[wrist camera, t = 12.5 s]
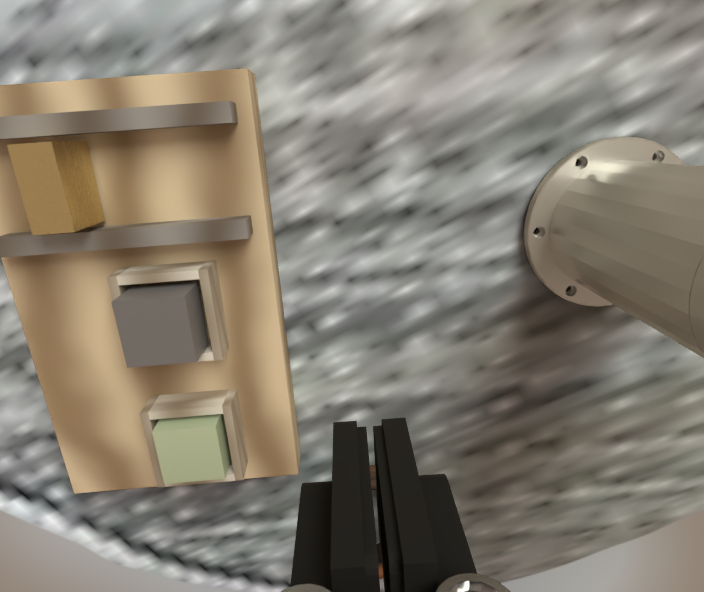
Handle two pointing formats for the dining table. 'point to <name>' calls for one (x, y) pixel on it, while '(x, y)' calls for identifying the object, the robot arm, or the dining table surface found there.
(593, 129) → the dining table surface
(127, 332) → the charcoal button
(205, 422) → the green button
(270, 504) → the dining table surface
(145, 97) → the control panel
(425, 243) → the dining table surface
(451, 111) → the dining table surface
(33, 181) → the brass lever
